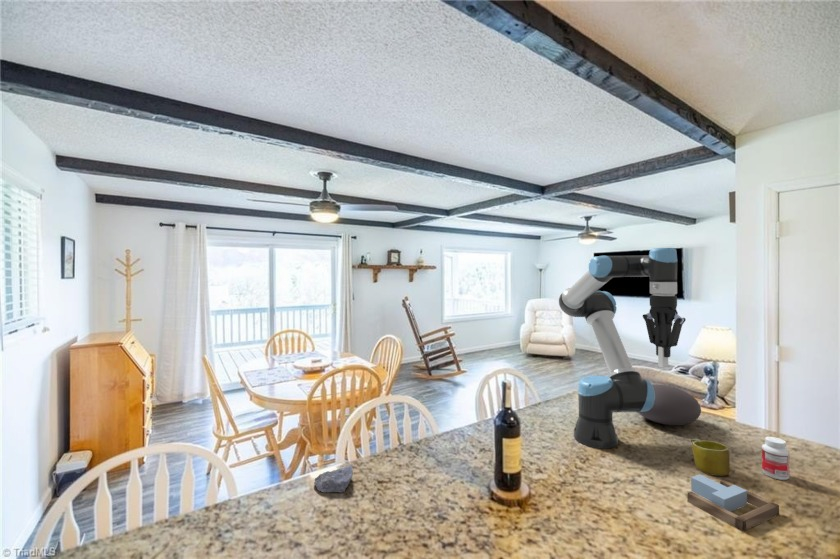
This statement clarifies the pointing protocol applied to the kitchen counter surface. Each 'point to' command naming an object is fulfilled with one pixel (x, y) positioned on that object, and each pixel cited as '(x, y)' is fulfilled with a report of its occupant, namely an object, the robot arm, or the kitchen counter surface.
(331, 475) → the rock
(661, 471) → the kitchen counter surface
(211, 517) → the kitchen counter surface
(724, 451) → the mug
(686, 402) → the smooth stone
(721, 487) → the blue t-shaped block
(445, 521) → the kitchen counter surface
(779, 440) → the pill bottle
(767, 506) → the bay
